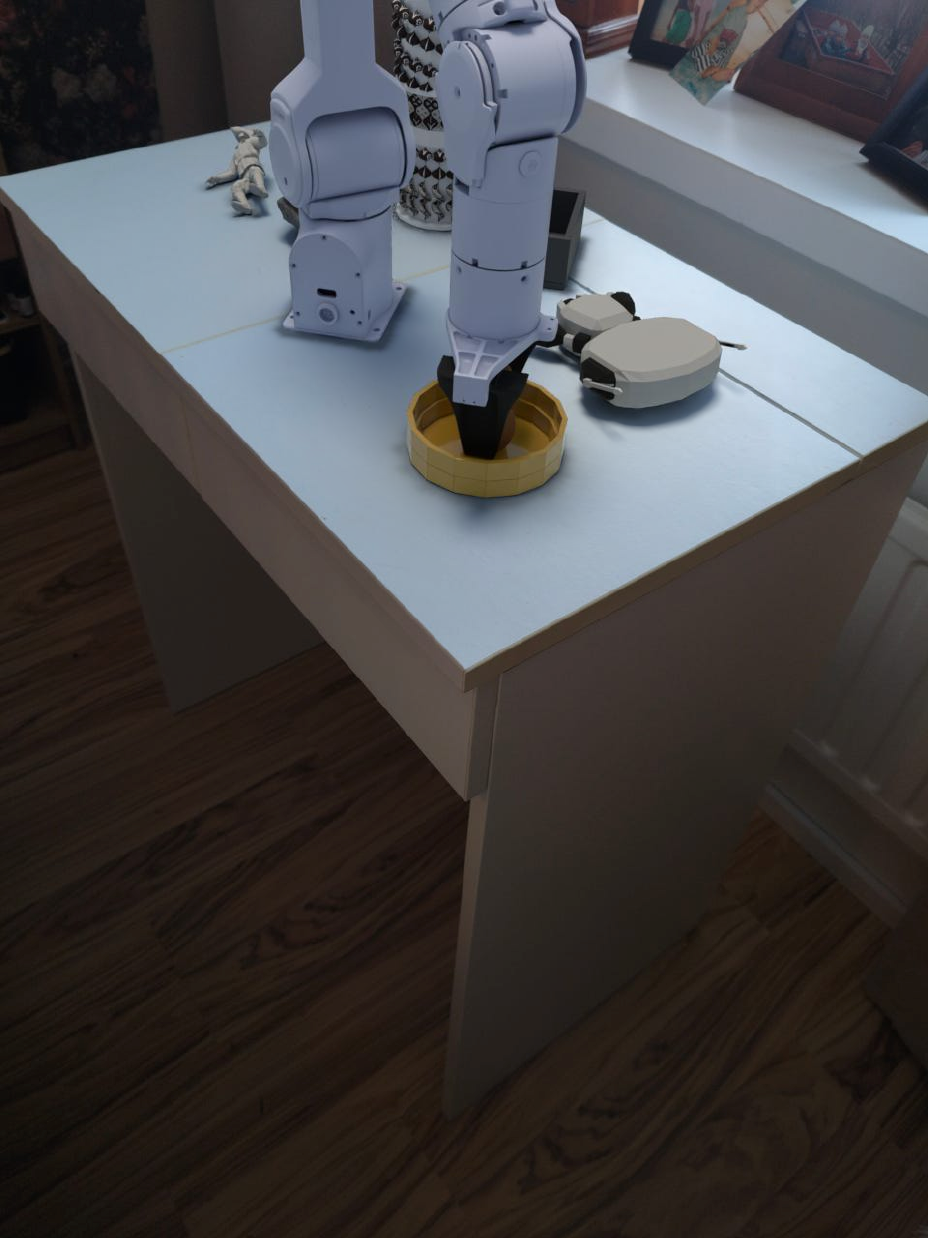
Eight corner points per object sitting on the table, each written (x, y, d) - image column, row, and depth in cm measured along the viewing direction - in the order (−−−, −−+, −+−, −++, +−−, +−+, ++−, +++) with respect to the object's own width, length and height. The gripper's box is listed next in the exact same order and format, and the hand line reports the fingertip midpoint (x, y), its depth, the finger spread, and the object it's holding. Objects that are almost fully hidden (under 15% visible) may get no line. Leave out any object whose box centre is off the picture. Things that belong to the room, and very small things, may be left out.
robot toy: (499, 358, 81) (619, 443, 72) (501, 305, 78) (626, 386, 69) (617, 320, 86) (743, 395, 77) (623, 269, 83) (755, 340, 74)
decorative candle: (497, 199, 100) (518, -106, 82) (471, 239, 94) (487, -82, 76) (410, 184, 102) (411, -118, 84) (379, 222, 96) (373, -95, 78)
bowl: (548, 513, 67) (553, 474, 64) (390, 486, 68) (389, 447, 66) (571, 422, 74) (576, 384, 72) (428, 399, 75) (428, 361, 73)
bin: (564, 290, 88) (570, 239, 85) (461, 275, 89) (463, 224, 86) (580, 239, 95) (586, 190, 92) (484, 226, 96) (487, 177, 93)
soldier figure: (210, 226, 96) (188, 139, 101) (249, 249, 100) (226, 164, 104) (264, 172, 92) (239, 84, 97) (302, 198, 96) (277, 113, 101)
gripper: (546, 317, 55) (524, 510, 65) (581, 206, 65) (558, 388, 75) (419, 299, 56) (417, 492, 65) (473, 192, 66) (464, 374, 75)
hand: (485, 436), depth 70 cm, fingers closed on teddy, 4 cm apart
